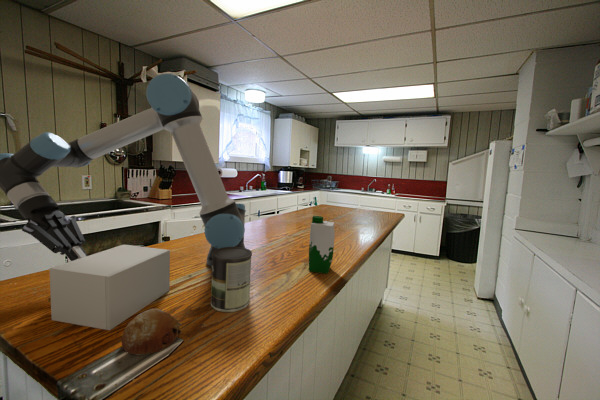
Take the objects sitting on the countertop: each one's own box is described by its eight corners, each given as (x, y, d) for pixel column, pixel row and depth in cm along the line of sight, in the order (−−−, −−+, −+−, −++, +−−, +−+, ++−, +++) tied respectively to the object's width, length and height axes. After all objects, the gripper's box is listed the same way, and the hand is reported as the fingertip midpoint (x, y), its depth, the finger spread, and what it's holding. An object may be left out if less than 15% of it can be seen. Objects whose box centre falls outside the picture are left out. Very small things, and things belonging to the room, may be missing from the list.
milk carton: (309, 264, 106) (313, 214, 104) (332, 267, 105) (336, 216, 103) (305, 272, 98) (309, 218, 96) (330, 275, 96) (335, 220, 94)
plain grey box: (169, 290, 77) (169, 250, 76) (109, 330, 58) (108, 276, 56) (123, 283, 80) (123, 244, 78) (51, 319, 60) (49, 268, 59)
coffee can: (204, 311, 68) (205, 256, 66) (218, 292, 78) (219, 245, 76) (244, 314, 67) (247, 259, 66) (253, 295, 78) (255, 247, 76)
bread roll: (147, 341, 61) (131, 310, 60) (190, 322, 61) (175, 292, 60) (123, 374, 51) (103, 338, 50) (174, 352, 51) (155, 316, 50)
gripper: (51, 208, 82) (100, 267, 81) (-3, 214, 69) (54, 284, 68) (66, 192, 80) (115, 252, 80) (13, 195, 68) (71, 267, 67)
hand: (87, 267), depth 74 cm, fingers closed
